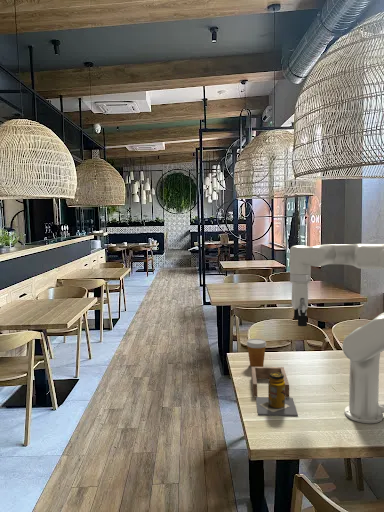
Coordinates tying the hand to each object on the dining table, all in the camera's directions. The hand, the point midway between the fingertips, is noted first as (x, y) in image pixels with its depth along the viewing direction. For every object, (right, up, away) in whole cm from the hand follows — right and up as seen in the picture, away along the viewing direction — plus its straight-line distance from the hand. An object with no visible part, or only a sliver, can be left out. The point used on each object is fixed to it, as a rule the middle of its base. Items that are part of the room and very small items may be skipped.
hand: (300, 322), depth 158 cm
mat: (-10, -31, -3) cm, 33 cm away
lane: (-9, -29, +15) cm, 34 cm away
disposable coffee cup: (-10, -27, +41) cm, 50 cm away
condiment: (-11, -31, -4) cm, 33 cm away
